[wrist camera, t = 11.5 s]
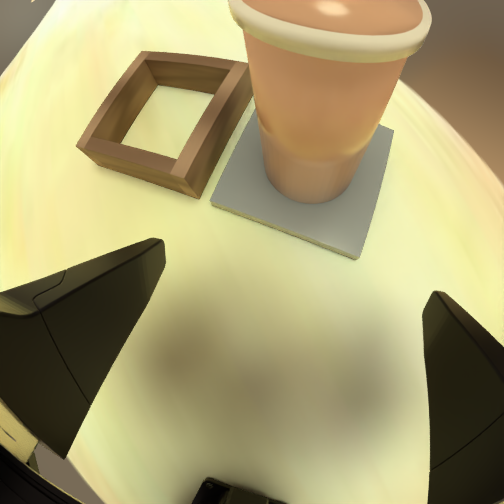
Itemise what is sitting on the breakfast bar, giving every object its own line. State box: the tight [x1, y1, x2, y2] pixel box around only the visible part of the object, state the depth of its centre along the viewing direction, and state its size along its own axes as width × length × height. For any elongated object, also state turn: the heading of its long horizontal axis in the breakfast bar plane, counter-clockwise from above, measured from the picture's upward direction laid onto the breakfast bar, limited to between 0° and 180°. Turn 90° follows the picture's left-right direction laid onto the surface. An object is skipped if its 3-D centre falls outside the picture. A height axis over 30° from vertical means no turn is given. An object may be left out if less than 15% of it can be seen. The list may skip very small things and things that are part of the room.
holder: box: [76, 51, 253, 199], centre depth 20 cm, size 10×10×4 cm
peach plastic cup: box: [228, 0, 432, 204], centre depth 13 cm, size 9×7×13 cm
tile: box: [210, 108, 394, 260], centre depth 19 cm, size 10×10×1 cm
